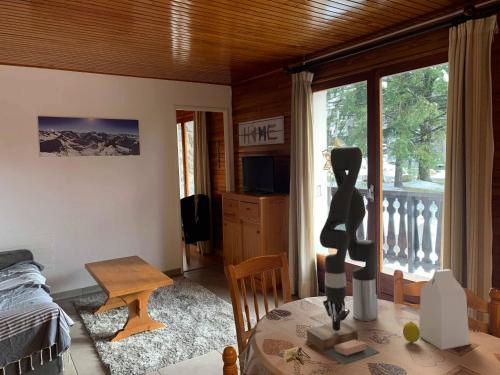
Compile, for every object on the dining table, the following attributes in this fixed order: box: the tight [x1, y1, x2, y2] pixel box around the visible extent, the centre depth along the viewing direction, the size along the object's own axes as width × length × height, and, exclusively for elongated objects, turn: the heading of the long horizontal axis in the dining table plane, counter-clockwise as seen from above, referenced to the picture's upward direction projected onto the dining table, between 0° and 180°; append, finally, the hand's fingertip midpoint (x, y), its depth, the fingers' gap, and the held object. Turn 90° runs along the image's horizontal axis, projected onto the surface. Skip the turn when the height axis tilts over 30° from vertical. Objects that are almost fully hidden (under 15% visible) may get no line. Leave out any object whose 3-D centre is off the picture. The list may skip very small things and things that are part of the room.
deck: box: [306, 320, 359, 352], centre depth 142 cm, size 16×10×4 cm, turn 116°
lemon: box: [402, 321, 420, 344], centre depth 138 cm, size 6×6×8 cm
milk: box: [418, 268, 470, 351], centre depth 139 cm, size 12×12×26 cm
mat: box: [323, 339, 380, 365], centre depth 133 cm, size 16×10×1 cm, turn 116°
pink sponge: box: [334, 339, 367, 355], centre depth 133 cm, size 9×6×2 cm, turn 116°
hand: (336, 329), depth 140 cm, fingers closed
